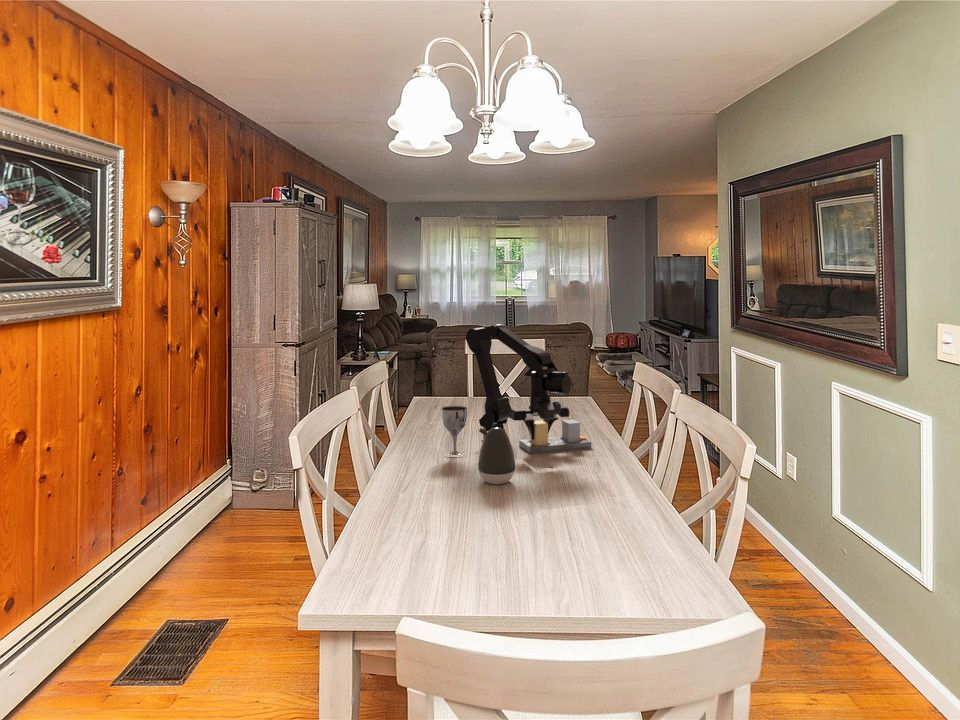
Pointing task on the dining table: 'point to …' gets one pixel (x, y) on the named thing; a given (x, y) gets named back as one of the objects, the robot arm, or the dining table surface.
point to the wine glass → (454, 422)
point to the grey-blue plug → (570, 431)
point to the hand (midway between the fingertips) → (539, 439)
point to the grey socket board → (555, 445)
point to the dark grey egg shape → (496, 457)
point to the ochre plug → (540, 433)
